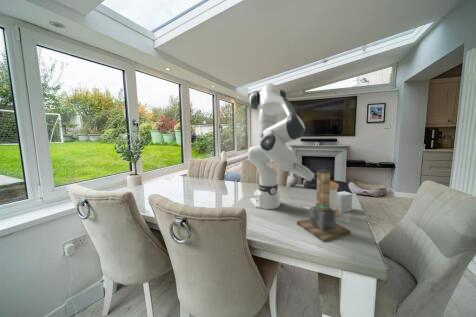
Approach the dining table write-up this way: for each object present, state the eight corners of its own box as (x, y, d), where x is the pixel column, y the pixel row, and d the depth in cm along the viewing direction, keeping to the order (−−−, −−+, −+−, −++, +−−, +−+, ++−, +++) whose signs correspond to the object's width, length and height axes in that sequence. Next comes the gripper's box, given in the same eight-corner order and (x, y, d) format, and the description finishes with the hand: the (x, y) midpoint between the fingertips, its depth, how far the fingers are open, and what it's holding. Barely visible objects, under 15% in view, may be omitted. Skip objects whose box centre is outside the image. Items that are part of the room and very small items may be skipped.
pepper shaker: (332, 217, 108) (333, 183, 106) (321, 213, 115) (322, 180, 112) (340, 214, 112) (342, 181, 109) (329, 210, 118) (330, 178, 115)
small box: (343, 207, 122) (344, 190, 120) (351, 210, 116) (352, 193, 115) (333, 209, 119) (334, 192, 118) (341, 213, 114) (341, 195, 112)
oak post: (315, 211, 97) (316, 170, 94) (322, 210, 99) (323, 169, 96) (322, 215, 93) (323, 171, 90) (329, 213, 95) (330, 170, 92)
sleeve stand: (296, 224, 103) (296, 205, 101) (321, 218, 108) (321, 200, 107) (323, 241, 86) (323, 219, 84) (350, 233, 92) (351, 213, 90)
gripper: (309, 162, 79) (322, 177, 88) (275, 148, 95) (288, 162, 104) (300, 175, 79) (314, 189, 87) (267, 159, 95) (281, 172, 103)
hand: (300, 174), depth 96 cm, fingers open, 8 cm apart
